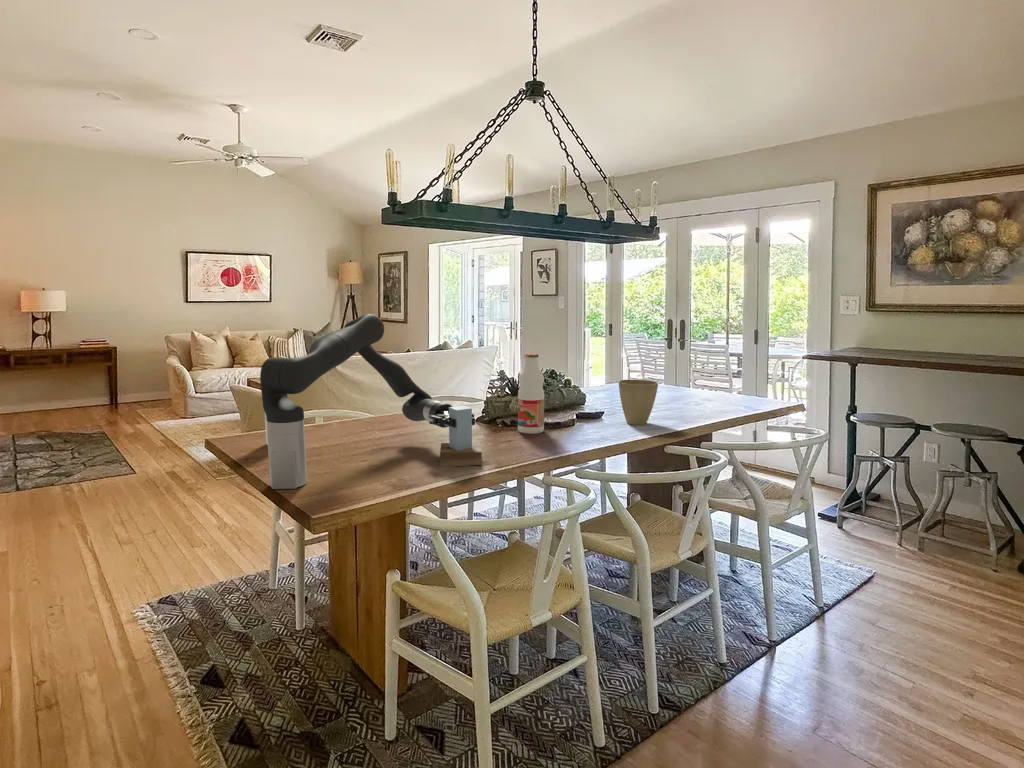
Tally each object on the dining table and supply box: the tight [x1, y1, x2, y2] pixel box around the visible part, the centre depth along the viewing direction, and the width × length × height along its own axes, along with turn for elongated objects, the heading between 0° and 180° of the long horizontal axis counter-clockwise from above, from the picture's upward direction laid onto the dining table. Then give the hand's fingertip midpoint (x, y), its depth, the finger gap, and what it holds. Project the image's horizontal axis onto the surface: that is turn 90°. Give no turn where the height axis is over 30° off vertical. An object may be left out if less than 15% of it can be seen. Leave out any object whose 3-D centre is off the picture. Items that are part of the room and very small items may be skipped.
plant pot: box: [618, 379, 659, 426], centre depth 252 cm, size 15×15×16 cm
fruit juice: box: [517, 352, 545, 435], centre depth 236 cm, size 9×9×28 cm
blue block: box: [448, 405, 473, 450], centre depth 196 cm, size 5×5×12 cm
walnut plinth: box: [439, 442, 483, 467], centre depth 197 cm, size 12×12×4 cm
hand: (464, 422), depth 194 cm, fingers open, 5 cm apart
